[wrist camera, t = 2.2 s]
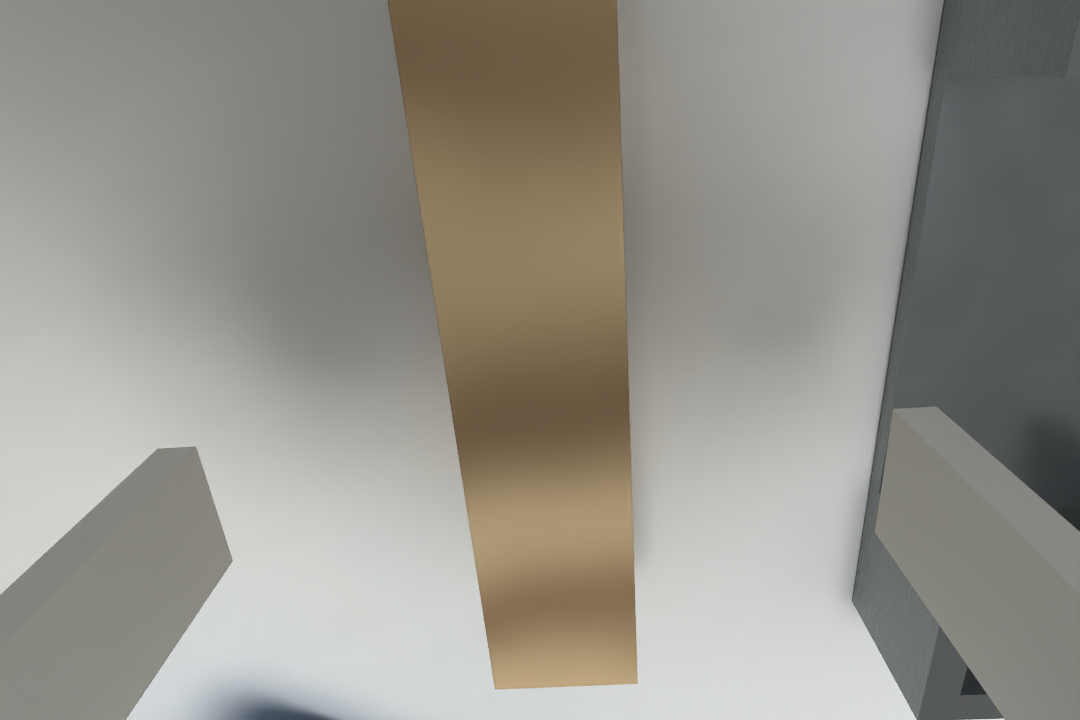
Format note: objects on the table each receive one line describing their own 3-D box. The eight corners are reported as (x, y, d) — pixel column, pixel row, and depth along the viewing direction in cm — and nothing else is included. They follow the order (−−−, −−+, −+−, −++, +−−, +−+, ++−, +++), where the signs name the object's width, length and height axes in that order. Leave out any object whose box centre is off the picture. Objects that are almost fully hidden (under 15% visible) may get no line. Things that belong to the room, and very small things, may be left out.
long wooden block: (429, -22, 16) (379, -55, 11) (596, -38, 16) (614, -79, 11) (506, 566, 23) (494, 689, 19) (621, 560, 23) (637, 683, 18)
